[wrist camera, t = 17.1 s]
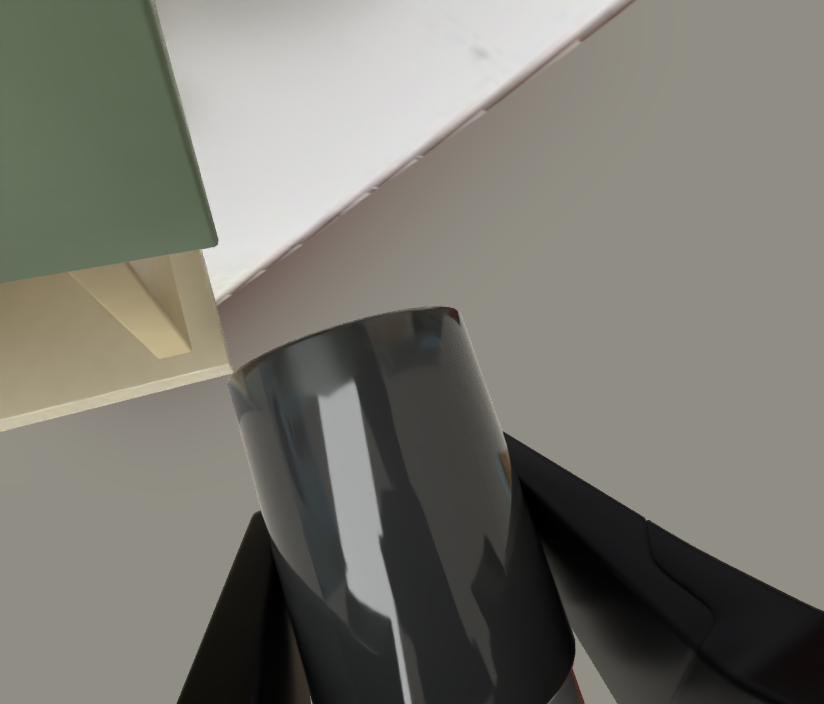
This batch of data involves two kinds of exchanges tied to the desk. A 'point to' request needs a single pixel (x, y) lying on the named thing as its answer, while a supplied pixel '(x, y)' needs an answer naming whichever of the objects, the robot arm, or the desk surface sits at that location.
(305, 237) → the desk surface
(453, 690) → the pepper shaker
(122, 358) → the drawer
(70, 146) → the cabinet
